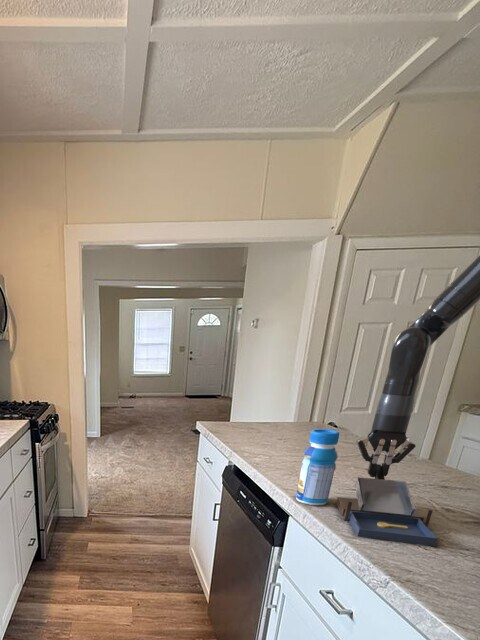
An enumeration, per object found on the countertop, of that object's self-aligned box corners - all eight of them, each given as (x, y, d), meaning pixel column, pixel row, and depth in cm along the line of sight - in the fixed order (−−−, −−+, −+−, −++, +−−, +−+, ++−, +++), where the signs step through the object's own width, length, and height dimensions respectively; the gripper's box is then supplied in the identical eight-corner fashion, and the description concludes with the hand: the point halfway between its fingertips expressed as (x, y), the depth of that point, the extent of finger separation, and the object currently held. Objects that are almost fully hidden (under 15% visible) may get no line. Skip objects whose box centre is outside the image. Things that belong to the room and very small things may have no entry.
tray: (416, 525, 99) (419, 518, 98) (435, 546, 88) (438, 538, 88) (347, 517, 104) (349, 510, 103) (357, 536, 93) (359, 529, 93)
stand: (409, 511, 107) (415, 493, 105) (426, 530, 96) (433, 510, 94) (335, 503, 113) (339, 486, 111) (344, 520, 102) (348, 501, 100)
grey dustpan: (397, 473, 110) (401, 465, 108) (411, 516, 98) (415, 509, 96) (351, 469, 113) (354, 462, 112) (359, 511, 101) (362, 503, 100)
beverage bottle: (314, 508, 110) (329, 435, 102) (288, 498, 117) (300, 430, 109) (334, 503, 113) (350, 432, 105) (308, 494, 120) (321, 427, 112)
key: (378, 526, 97) (378, 525, 97) (375, 522, 99) (376, 521, 99) (408, 530, 95) (409, 528, 95) (405, 526, 97) (406, 524, 97)
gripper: (420, 411, 104) (401, 475, 110) (359, 409, 109) (345, 470, 115) (431, 415, 97) (410, 483, 104) (366, 413, 102) (350, 478, 109)
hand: (376, 476), depth 109 cm, fingers closed on grey dustpan
